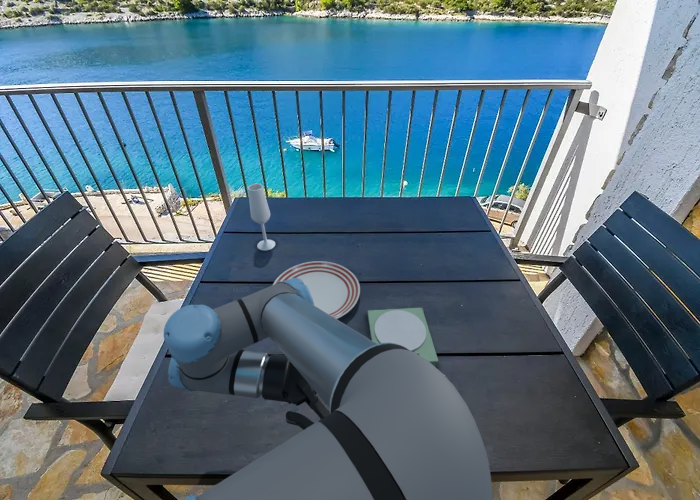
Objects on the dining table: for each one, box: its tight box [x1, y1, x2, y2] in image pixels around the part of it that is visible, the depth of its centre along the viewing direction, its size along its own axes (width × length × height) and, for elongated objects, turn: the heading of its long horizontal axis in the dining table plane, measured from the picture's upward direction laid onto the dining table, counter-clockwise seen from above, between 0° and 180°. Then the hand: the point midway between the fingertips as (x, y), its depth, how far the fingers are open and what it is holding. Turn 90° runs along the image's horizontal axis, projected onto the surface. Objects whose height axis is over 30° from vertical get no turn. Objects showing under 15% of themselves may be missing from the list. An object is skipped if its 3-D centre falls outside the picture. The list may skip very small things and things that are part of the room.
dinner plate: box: [272, 260, 361, 320], centre depth 108 cm, size 28×27×3 cm
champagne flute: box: [247, 183, 276, 252], centre depth 121 cm, size 7×7×24 cm
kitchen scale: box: [366, 307, 439, 368], centre depth 95 cm, size 18×16×3 cm
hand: (386, 391), depth 61 cm, fingers open, 13 cm apart
